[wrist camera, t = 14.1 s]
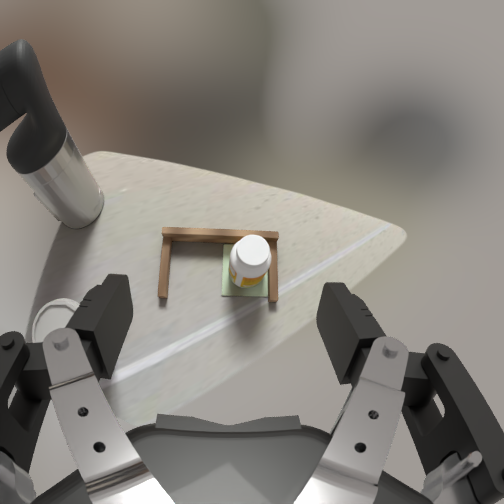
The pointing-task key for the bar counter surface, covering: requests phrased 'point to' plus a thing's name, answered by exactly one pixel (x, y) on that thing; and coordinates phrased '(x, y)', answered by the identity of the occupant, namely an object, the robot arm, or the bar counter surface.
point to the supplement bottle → (249, 261)
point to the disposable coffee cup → (52, 317)
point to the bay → (263, 289)
